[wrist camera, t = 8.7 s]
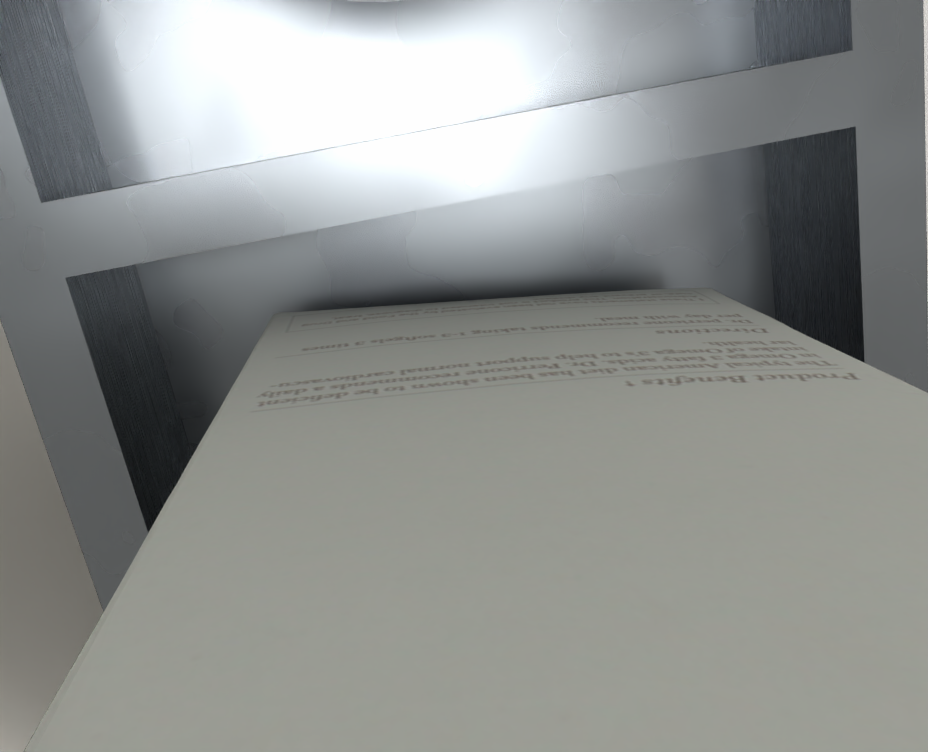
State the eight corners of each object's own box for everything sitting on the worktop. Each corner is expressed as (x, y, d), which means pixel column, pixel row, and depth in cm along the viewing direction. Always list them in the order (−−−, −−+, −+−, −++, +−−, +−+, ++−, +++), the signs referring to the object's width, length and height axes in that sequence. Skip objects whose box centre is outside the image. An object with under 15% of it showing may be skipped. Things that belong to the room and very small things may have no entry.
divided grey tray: (252, 765, 18) (216, 932, 14) (-192, -655, 11) (-486, -1058, 7) (822, 643, 19) (934, 774, 15) (736, -795, 12) (905, -1240, 8)
